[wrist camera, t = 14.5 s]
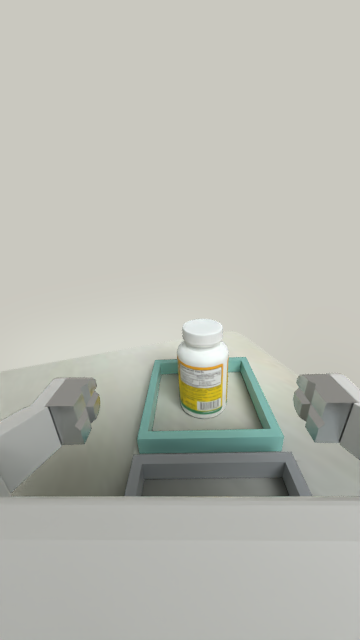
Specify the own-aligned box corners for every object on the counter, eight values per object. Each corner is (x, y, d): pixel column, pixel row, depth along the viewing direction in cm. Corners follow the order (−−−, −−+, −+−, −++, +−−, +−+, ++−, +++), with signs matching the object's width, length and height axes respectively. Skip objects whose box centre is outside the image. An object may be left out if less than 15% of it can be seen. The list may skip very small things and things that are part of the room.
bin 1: (139, 453, 20) (137, 439, 19) (156, 370, 32) (155, 360, 31) (281, 451, 19) (283, 436, 19) (245, 368, 31) (245, 357, 30)
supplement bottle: (210, 429, 22) (210, 344, 18) (170, 405, 25) (163, 329, 22) (235, 398, 26) (239, 322, 22) (197, 381, 29) (195, 312, 25)
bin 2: (55, 871, 7) (38, 873, 6) (136, 469, 19) (133, 454, 18) (474, 895, 6) (506, 899, 6) (288, 467, 18) (291, 451, 17)
